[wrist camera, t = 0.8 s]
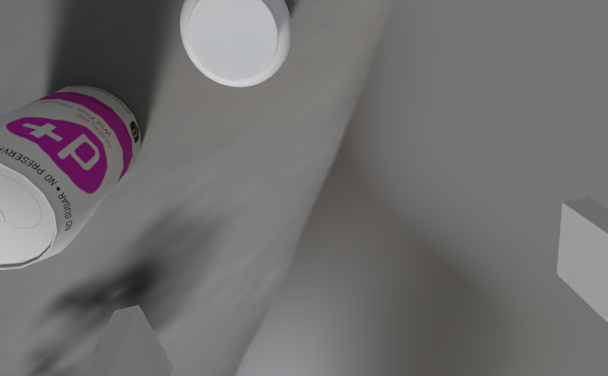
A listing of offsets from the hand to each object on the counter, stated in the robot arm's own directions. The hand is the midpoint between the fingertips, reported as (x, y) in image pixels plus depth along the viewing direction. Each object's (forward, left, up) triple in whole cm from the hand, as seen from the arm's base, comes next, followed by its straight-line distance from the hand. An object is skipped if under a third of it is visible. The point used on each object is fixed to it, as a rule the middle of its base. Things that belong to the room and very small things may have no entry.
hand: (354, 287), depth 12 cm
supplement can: (-13, -12, -25) cm, 31 cm away
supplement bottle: (-7, +3, -25) cm, 27 cm away
